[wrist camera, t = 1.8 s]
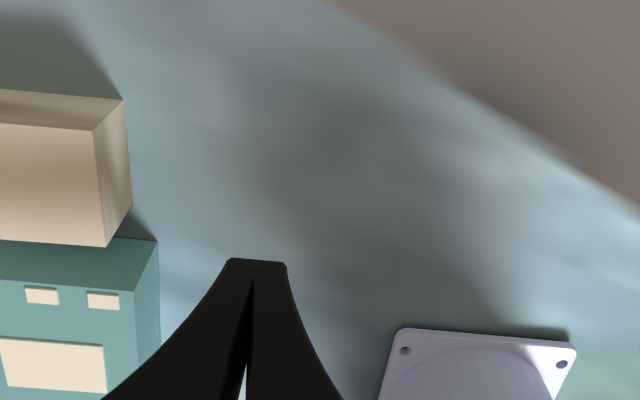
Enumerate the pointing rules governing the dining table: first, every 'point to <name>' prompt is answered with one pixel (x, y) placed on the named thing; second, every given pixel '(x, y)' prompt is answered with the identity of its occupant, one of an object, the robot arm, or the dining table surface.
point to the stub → (62, 168)
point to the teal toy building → (75, 317)
